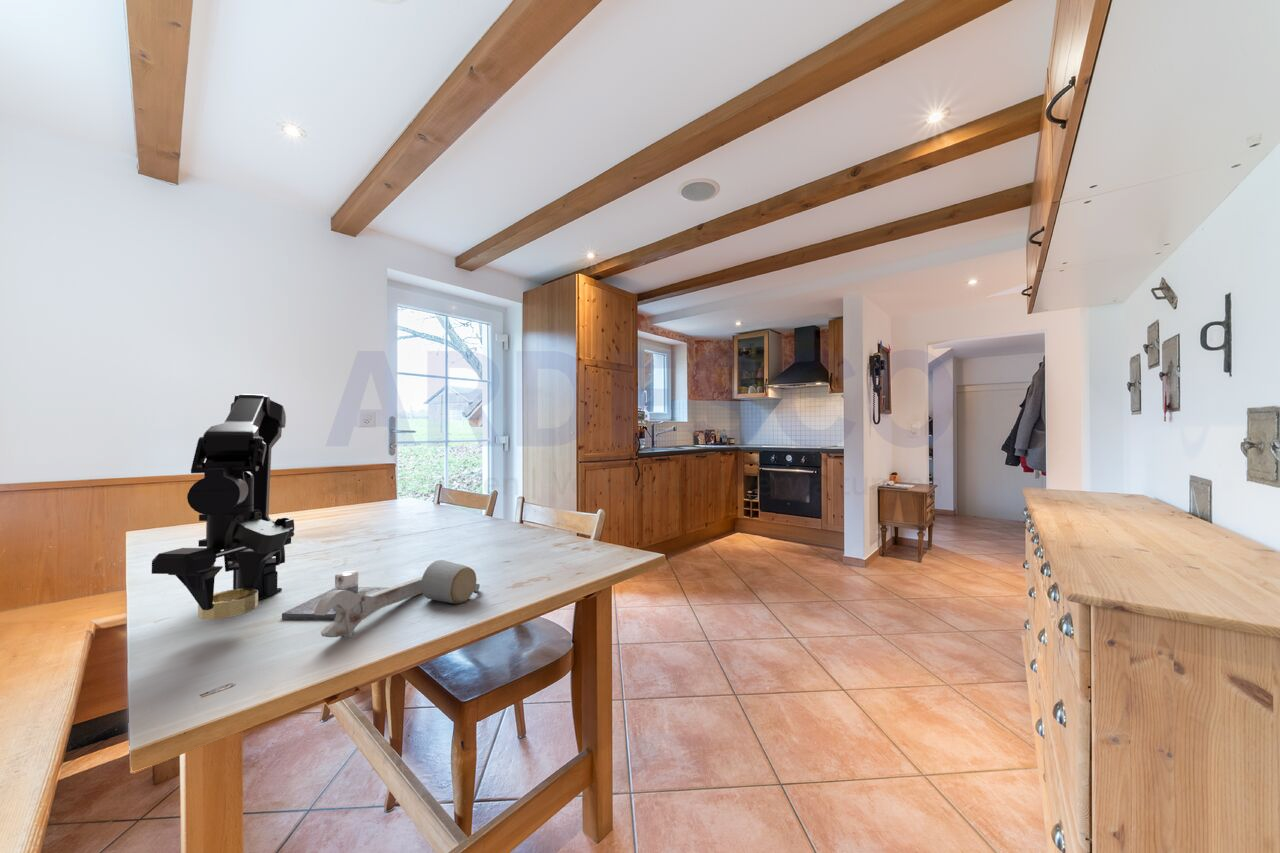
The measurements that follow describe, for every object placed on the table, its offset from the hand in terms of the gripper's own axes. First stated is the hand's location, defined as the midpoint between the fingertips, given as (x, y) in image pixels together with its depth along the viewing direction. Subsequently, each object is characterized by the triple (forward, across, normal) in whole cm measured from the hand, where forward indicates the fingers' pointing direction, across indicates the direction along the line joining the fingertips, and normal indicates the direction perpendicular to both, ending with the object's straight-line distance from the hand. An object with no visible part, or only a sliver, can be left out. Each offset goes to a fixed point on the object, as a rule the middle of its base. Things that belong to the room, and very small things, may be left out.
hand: (229, 601), depth 73 cm
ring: (+2, 0, 0) cm, 2 cm away
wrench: (+6, +10, -20) cm, 23 cm away
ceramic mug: (+6, +18, -29) cm, 35 cm away
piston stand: (+6, +14, -10) cm, 18 cm away
